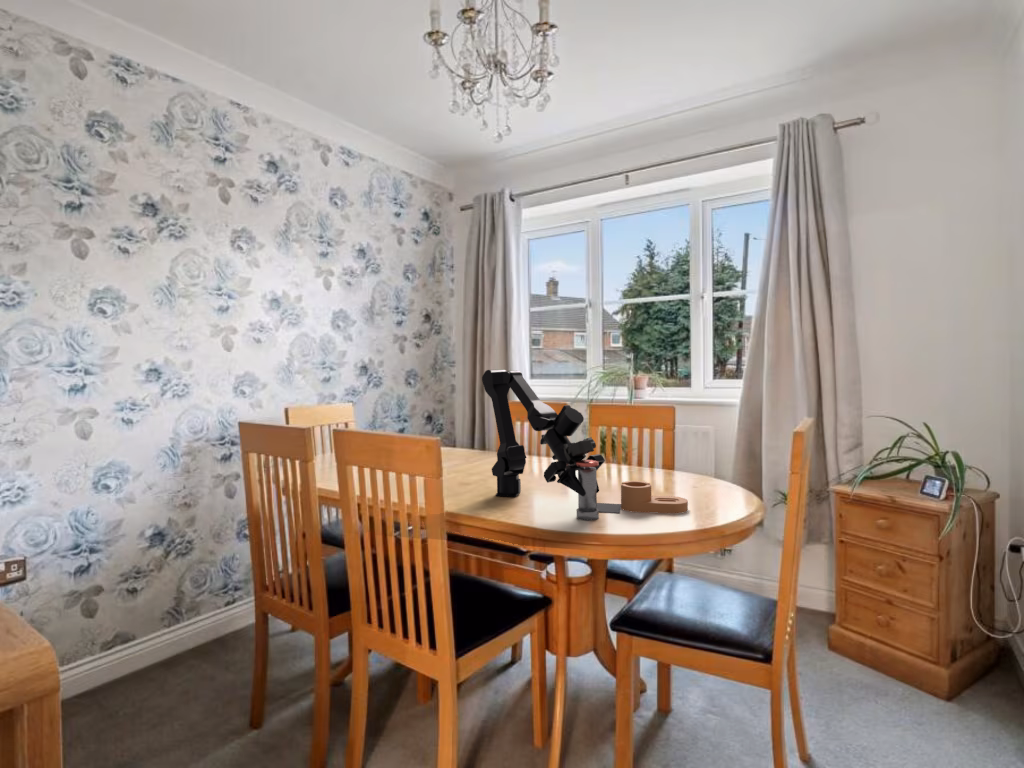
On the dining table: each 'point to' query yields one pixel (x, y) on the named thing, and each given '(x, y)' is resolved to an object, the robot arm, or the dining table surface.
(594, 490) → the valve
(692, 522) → the dining table surface
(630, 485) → the bracket
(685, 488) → the dining table surface
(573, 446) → the robot arm
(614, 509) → the dark grey rectangular plate
